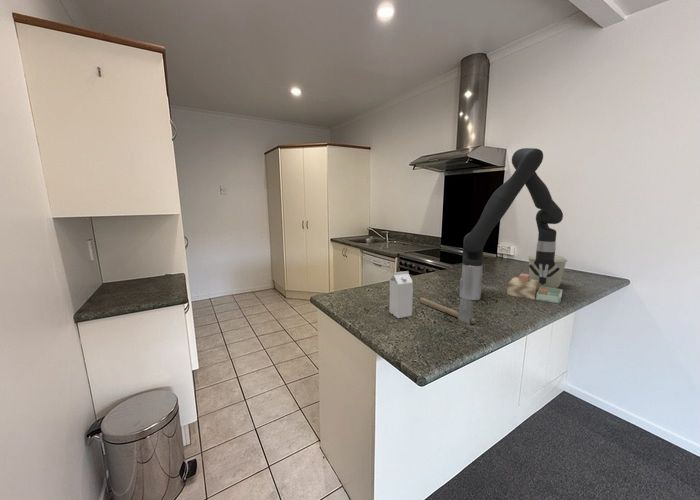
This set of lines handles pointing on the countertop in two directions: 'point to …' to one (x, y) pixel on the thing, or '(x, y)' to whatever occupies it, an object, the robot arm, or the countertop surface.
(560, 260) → the canister
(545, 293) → the terracotta tile
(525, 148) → the robot arm
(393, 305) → the milk carton
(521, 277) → the terracotta tile
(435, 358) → the countertop surface
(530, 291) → the zigzag patterned block
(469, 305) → the long-handled mallet
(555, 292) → the bin
